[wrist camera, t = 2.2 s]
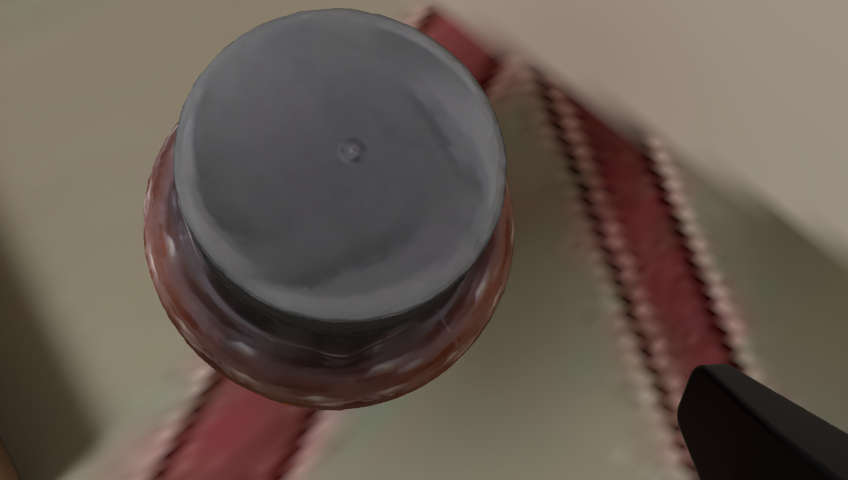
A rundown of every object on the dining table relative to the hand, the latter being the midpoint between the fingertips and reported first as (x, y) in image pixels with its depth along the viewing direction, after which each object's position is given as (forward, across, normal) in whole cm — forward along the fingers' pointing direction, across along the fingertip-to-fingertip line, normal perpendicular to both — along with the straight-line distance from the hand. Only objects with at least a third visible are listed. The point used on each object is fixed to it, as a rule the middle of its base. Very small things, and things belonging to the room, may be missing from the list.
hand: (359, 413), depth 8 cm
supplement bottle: (+9, 0, +5) cm, 11 cm away
